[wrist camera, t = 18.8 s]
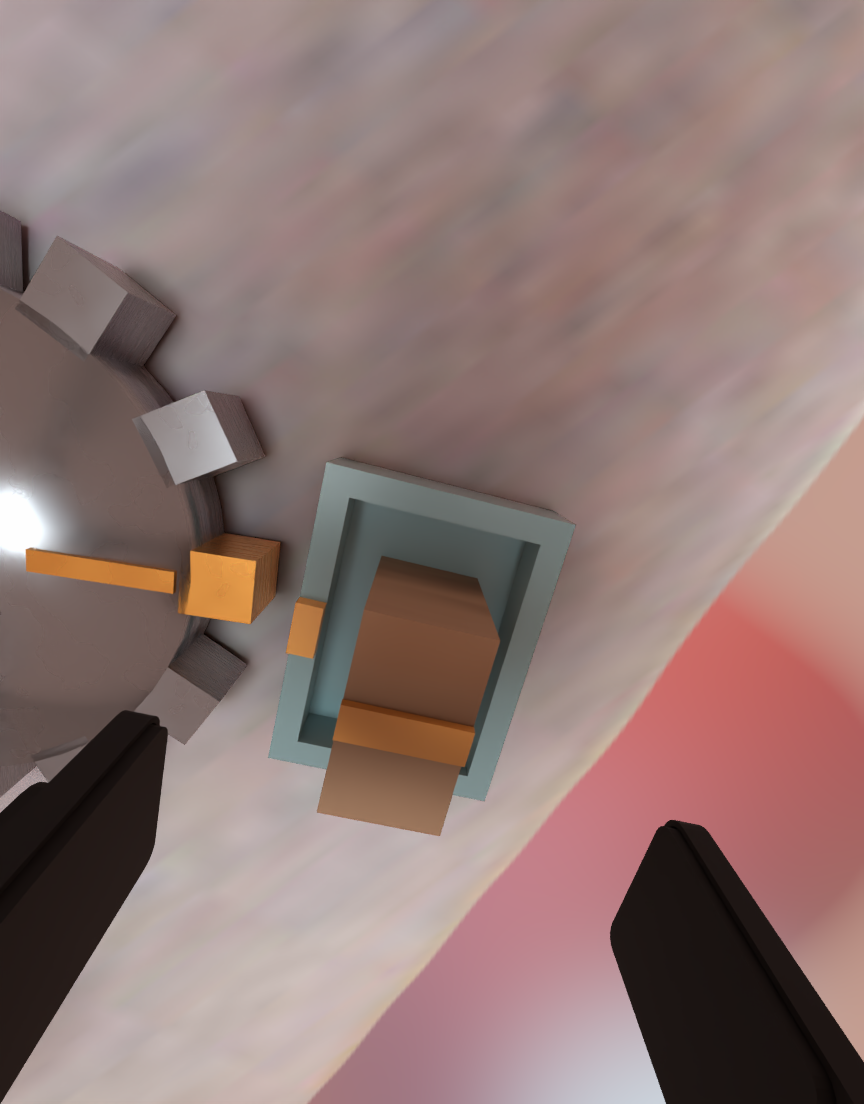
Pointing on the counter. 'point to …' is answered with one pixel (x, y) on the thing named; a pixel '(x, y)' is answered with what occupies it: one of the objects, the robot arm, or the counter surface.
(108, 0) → the counter surface
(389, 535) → the green rectangular tray
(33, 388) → the sprocket
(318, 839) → the counter surface
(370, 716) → the link block
